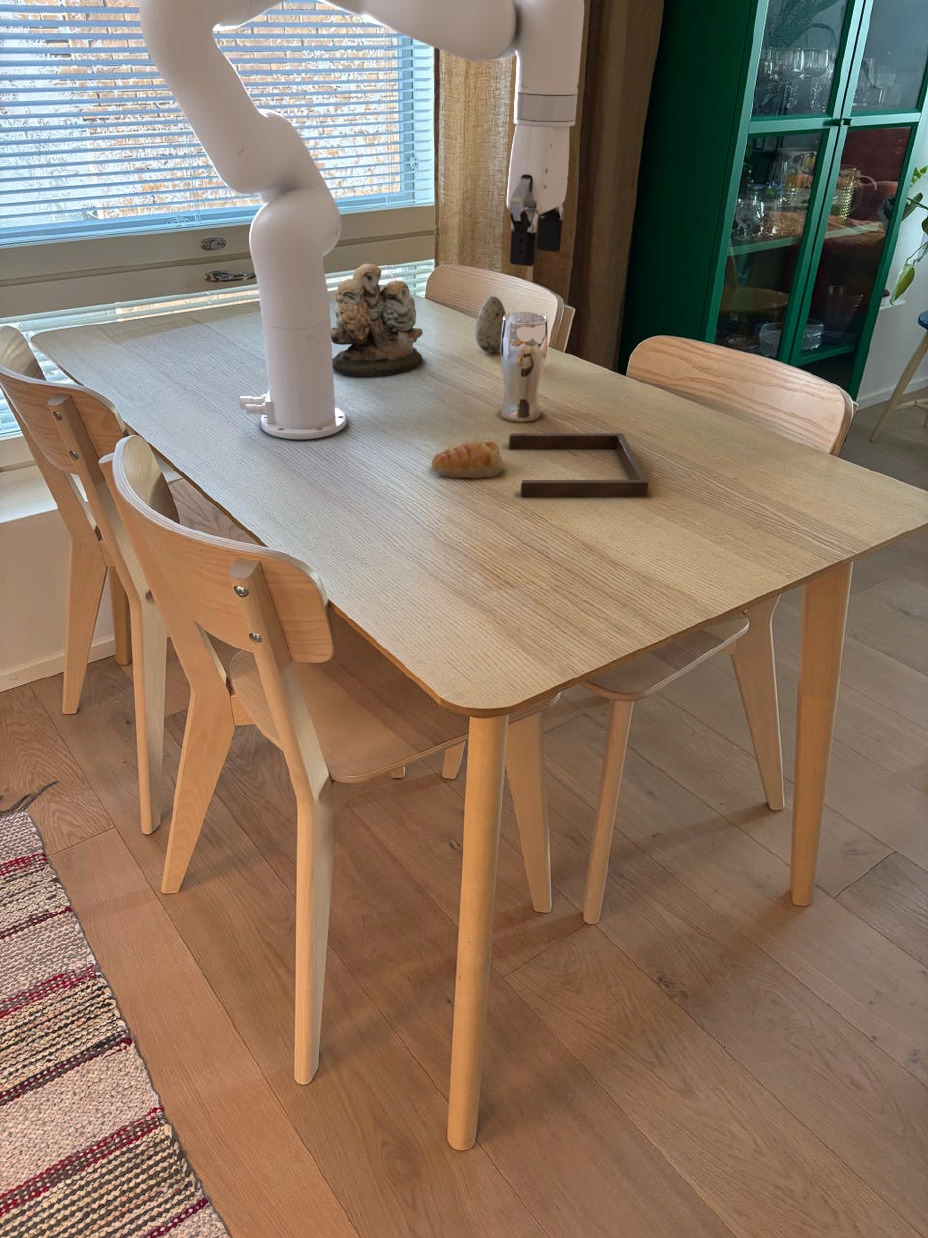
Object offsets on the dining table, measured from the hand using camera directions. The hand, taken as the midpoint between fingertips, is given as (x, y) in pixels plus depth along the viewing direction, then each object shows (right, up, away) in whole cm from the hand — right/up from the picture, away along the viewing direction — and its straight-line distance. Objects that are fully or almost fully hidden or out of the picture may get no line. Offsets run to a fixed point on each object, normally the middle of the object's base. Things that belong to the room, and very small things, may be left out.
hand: (535, 257), depth 126 cm
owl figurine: (-25, -3, +42) cm, 49 cm away
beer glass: (-1, -16, +23) cm, 28 cm away
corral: (+5, -27, +6) cm, 28 cm away
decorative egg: (-4, +1, +50) cm, 50 cm away
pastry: (-8, -27, +5) cm, 29 cm away
